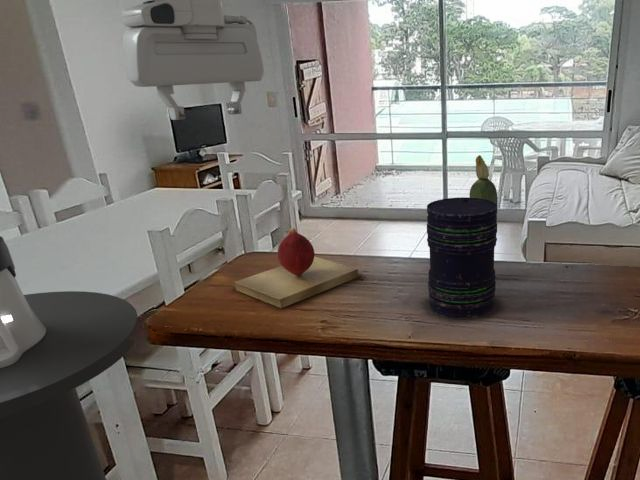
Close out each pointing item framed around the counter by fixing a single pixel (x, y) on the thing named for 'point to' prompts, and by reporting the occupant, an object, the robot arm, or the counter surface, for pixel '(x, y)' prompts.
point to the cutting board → (295, 282)
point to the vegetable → (483, 183)
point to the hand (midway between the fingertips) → (207, 116)
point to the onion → (295, 253)
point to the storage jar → (462, 257)
